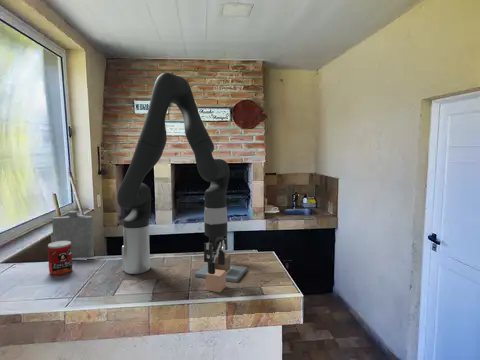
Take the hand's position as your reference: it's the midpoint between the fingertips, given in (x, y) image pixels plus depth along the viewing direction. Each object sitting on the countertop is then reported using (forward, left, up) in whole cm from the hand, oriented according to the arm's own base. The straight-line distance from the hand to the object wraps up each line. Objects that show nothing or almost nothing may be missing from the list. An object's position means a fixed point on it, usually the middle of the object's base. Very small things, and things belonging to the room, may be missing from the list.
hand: (216, 268), depth 104 cm
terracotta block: (0, 0, -7) cm, 7 cm away
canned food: (-61, -5, -7) cm, 62 cm away
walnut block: (-3, +13, -5) cm, 14 cm away
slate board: (-3, +13, -7) cm, 15 cm away
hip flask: (-70, +10, -7) cm, 71 cm away
